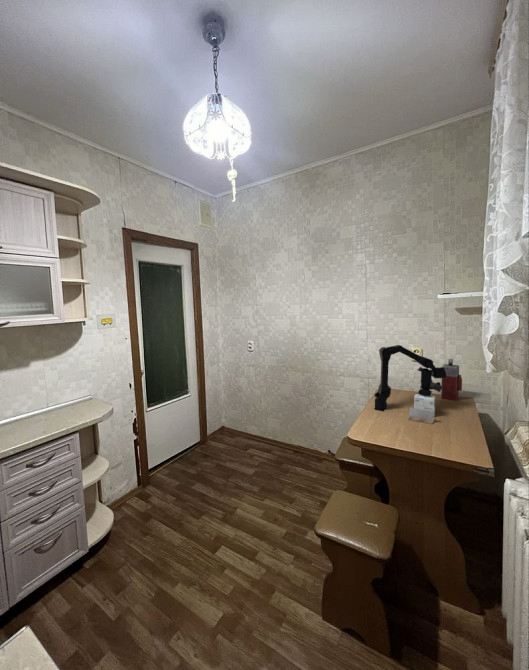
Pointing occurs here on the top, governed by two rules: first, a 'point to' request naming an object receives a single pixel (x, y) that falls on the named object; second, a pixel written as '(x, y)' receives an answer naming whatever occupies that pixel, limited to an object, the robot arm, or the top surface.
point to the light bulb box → (424, 402)
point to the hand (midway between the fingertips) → (425, 402)
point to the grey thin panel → (421, 414)
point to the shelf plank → (421, 420)
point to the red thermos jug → (451, 382)
